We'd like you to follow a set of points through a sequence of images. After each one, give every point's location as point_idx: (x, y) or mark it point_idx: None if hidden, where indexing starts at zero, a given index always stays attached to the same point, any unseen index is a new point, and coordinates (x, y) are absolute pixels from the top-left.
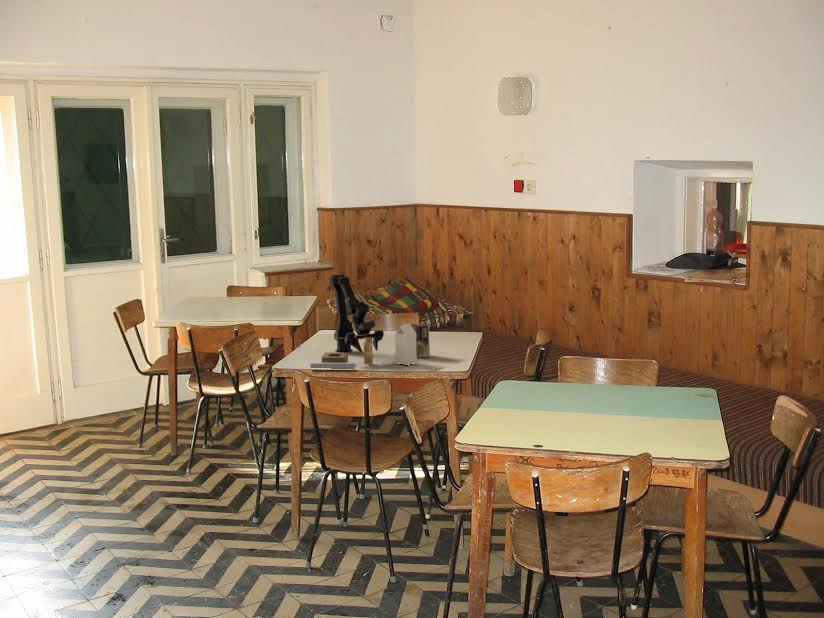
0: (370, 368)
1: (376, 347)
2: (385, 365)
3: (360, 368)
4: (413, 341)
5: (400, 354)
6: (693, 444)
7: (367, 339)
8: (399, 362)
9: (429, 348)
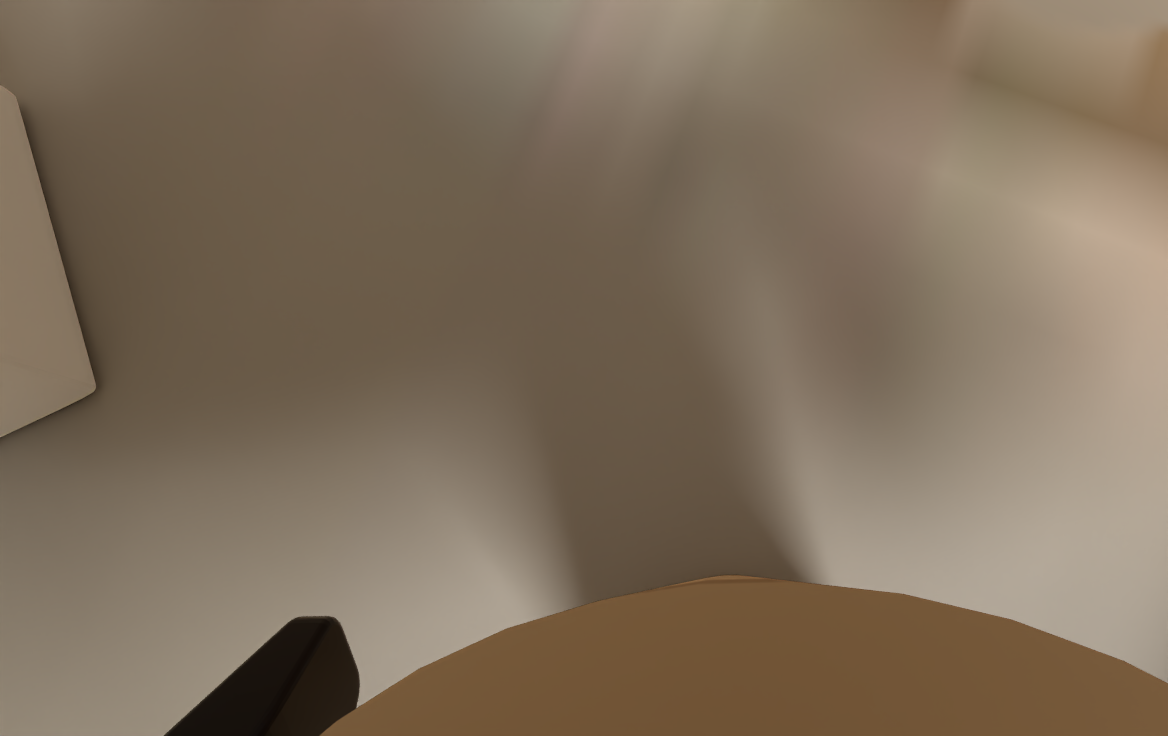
0: (837, 234)
1: (262, 706)
2: (371, 377)
3: (1107, 346)
4: None
5: None
6: None
7: (1078, 671)
8: (32, 262)
9: None
